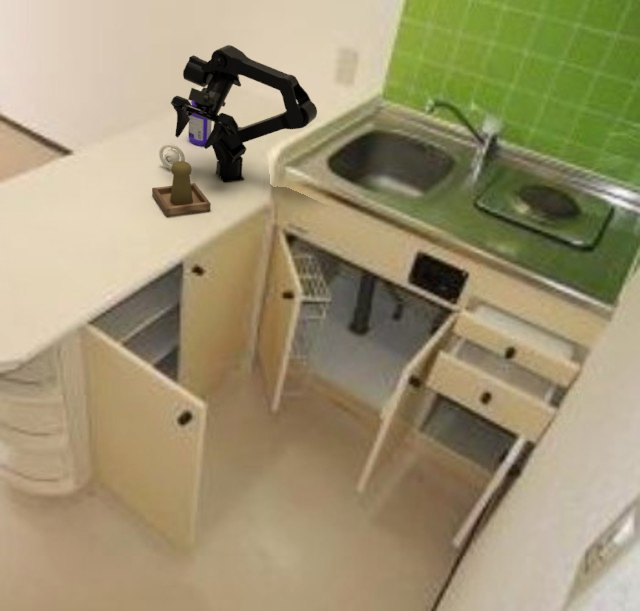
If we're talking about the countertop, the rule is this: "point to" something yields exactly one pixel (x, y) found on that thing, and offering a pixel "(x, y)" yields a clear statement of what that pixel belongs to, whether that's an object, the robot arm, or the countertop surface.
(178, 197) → the cork
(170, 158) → the ring around a ball
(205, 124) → the bottle
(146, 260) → the countertop surface
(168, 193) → the walnut tray
